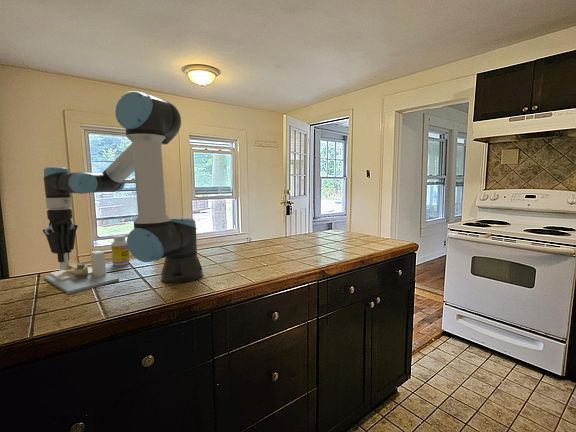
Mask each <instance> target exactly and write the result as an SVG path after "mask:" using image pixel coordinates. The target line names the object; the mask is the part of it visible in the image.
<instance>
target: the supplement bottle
mask: <svg viewBox="0 0 576 432" xmlns="http://www.w3.org/2000/svg"><path fill="white" fill-rule="evenodd" d="M112 237H113V241H112V242H111V257H112V258H111V259H112V265H113V266H117V267H120V266H125V265H128V264H130V251H129V249H128V246H127V240H126V235H125V234H119V235H118V234H117V235H113V236H112Z"/></svg>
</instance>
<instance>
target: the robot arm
mask: <svg viewBox="0 0 576 432" xmlns="http://www.w3.org/2000/svg"><path fill="white" fill-rule="evenodd" d="M114 113H115V118H116V121H117V123H119V125H120V126H121V127H122V128H123V129H125V134H126V135H125V137H126V138H127V139H129V141H131V144H130V145H128V146H127V148H125V150H124V151H122V153H121V154H119V155H118V157H117V158H115V159H114V160H113V162H112V163H110V165H108V167H107V168H106V169H105V170H103V171H102V172H86V171H84V172H82V171H78V172H70V170H69V169H68V168H67V167H60V166H59V167H57V166H54V167H51V166H50V167H45V168H43V182H44V183H43V184H44V185H43V186H44V193H45V204H46V209H48V210H46V215H47V216H46V217H47V220H48V221H49V223H48V227H46V229H42V232H43V234H44V235H45V236H46V240H47V242H48V246H49V249H50V251H51V252H50V253H52V254H57V262H58V263H59V271H61V270H69V263H70V259H71V258H70V253H72V252H73V250H74V248H75V243H76V242H75V240H76V233H77V229H78V225H77V224H74V223H73V222H72V218H73V210H72V209H71V208H72V197H71V196H72V194H78V195H79V194H81V195H84V194H86V195H87V194H90V193H91V194H92V193H93V194H94V193H107V192H108V193H115V192H120V191H122V190H123V189H124V188H125V184H126V179H128V178H129V177H130V176H131V175H132V174H133V173H134V180H135V192H136V193H135V194H136V203H137V205H136V206H137V215H138V216H137V218H135V219H134V221H133V229H132V230H131V231H129V234H128V235H127V238H126V241H127V246H128V249H129V254H131V255H132V256H133V257H134V258H135V259H136V260H138V261H140V262H142V263H151V262H156V261H159V260H162V259H163V258H165V259H164V262H163V266H162V270H161V273H160V277H161V281H163V282H165V283H172V284H181V283H187V282H192V281H196V280H198V279H200V278H202V276H203V275H204V274H203V268H202V265H201V262H200V260H199V257H198V248H197V247H198V246H197V245H198V244H197V243H198V241H197V226H196V221H195V219H193V218H186V217H185V218H184V217H183V218H181V217H179V218H178V217H170V216H168V214H167V209H166V206H167V205H166V195H165V194H166V192H165V191H166V190H165V181H164V180H165V179H164V166H163V152H162V146H163V145H165V146H166V145H168V144H170V142H171V141H173V140H174V138H175V137H176V136H177V135H178V133H179V132H180V130H181V127H182V117H181V114H180V111H179V109H178V108H177V107H176V106H175V105H174V104H172V103H171V102H169V101H166V100H164V99H162V98H158V97H156V96H153V95H150V94H148V93H147V92H140V91H137V90H132V91H127V92H125V93H124V94H122V96H120V99H118V101H117V102H116V105H115V112H114Z"/></svg>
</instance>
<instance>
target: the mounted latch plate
mask: <svg viewBox="0 0 576 432" xmlns="http://www.w3.org/2000/svg"><path fill="white" fill-rule="evenodd" d="M89 253H90V261H91V262H90V263H91V264H90V265H91V266H87V265H85V263H76V264H77V268H82V267H85V266H86V267H88V274H87V275H85V276H75V274H73V273H70V272H68V271H65V270H56V271H52V272H50V273H49V274H48V275H44V277H43V278H44V280H46V281H48V282H49V283H51V284H52V285H54V287H57V288H59V289H60V290H61V291H63V292H64V293H66V294H68V295H70V294H74V293H77V292H82V291H85V290H90V289H93V288H98V287H101V286H105V285H108V284H113V283H117V282H119V281H120V278H119V277H117V276H115V275H112V274H109V273H107V269H106V258H105V257H106V255H105V251H102V250H93V251H90V252H89Z"/></svg>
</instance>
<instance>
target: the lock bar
mask: <svg viewBox="0 0 576 432" xmlns="http://www.w3.org/2000/svg"><path fill="white" fill-rule="evenodd" d="M77 264H78V263H74V262H69V270H65V271H68V272H70V273H73V274H75V276H85V275H87V274H88V267H89V266H87V265H85V267H82V268H77ZM86 266H87V267H86Z"/></svg>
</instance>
